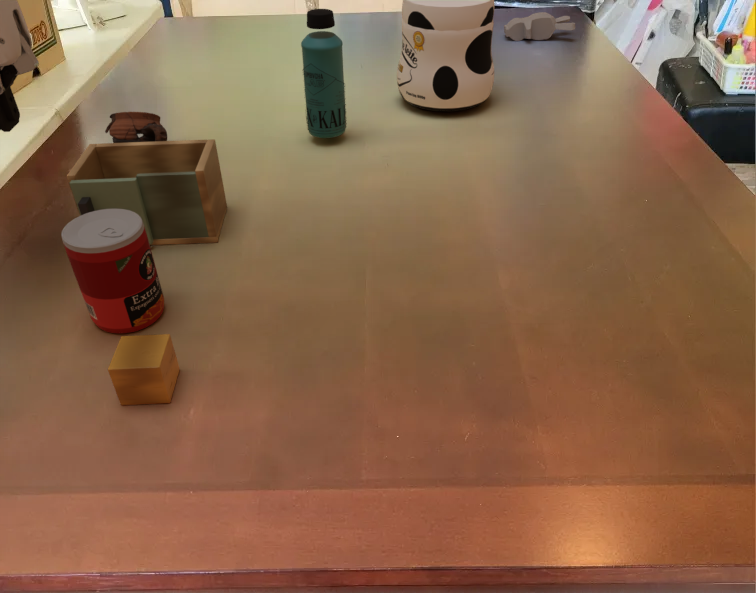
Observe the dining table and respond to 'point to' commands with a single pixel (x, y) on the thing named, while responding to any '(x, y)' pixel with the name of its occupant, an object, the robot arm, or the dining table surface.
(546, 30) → the bunny figurine
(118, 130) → the pottery mug
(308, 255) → the dining table surface
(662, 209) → the dining table surface
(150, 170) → the cupboard
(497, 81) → the dining table surface
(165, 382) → the block
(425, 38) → the milk container
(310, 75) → the beverage bottle
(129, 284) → the canned food
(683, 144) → the dining table surface
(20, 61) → the robot arm
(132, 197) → the closet door
